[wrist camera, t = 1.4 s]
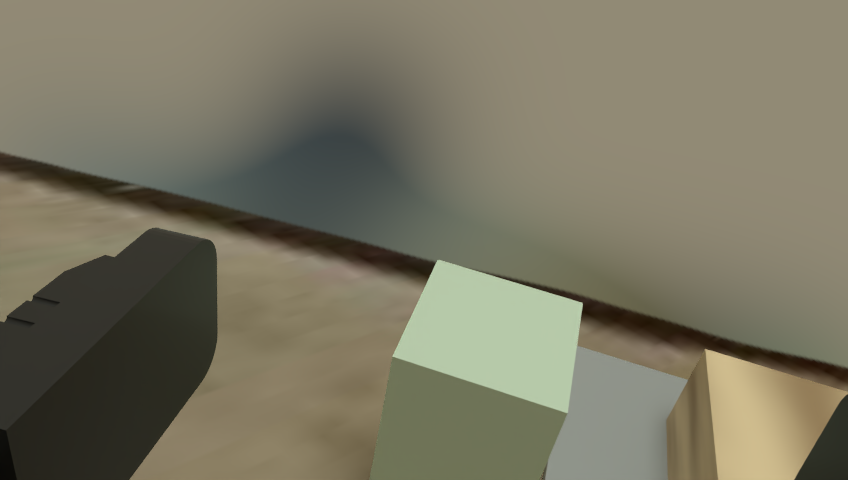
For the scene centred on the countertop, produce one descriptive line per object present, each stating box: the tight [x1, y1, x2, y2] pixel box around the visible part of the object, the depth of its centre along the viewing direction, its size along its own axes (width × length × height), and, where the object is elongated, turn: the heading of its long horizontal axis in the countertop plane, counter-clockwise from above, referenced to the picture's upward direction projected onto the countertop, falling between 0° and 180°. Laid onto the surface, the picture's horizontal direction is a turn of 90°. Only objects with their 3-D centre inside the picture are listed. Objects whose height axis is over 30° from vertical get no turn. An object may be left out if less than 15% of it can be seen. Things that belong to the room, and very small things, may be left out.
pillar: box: [370, 260, 583, 480], centre depth 24 cm, size 5×5×12 cm
